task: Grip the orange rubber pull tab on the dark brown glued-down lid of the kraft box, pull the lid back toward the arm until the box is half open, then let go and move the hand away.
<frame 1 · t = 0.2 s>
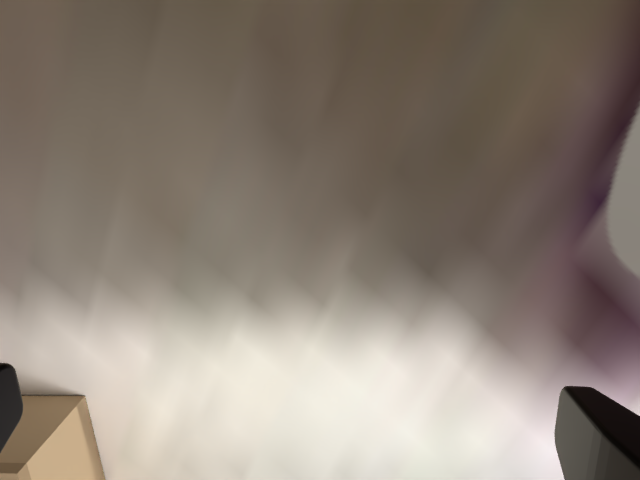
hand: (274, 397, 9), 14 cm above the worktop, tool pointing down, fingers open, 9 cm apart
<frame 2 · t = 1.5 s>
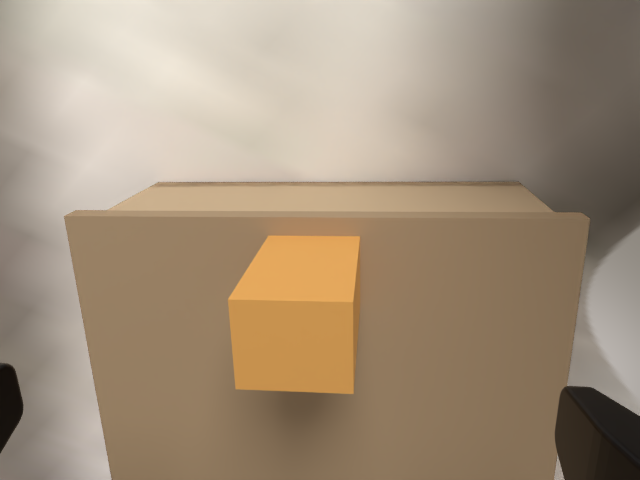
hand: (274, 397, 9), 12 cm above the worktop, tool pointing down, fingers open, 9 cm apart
carton: (335, 375, 22), on the worktop
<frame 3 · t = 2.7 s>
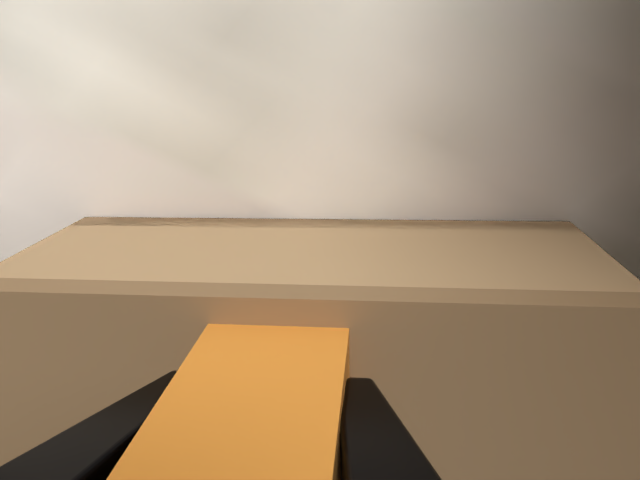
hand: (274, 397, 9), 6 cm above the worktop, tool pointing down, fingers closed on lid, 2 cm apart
carton: (321, 463, 17), on the worktop
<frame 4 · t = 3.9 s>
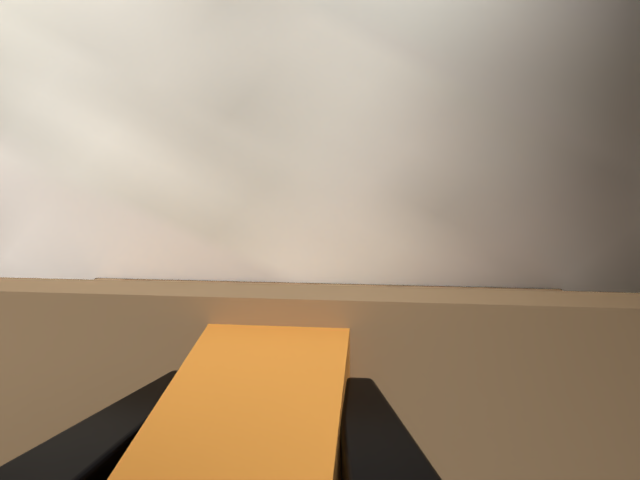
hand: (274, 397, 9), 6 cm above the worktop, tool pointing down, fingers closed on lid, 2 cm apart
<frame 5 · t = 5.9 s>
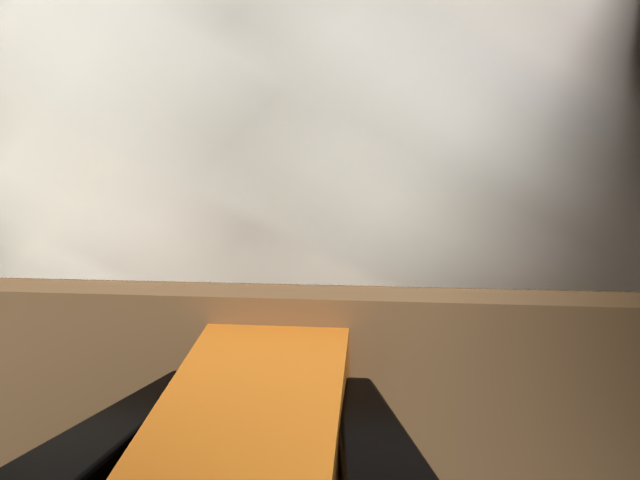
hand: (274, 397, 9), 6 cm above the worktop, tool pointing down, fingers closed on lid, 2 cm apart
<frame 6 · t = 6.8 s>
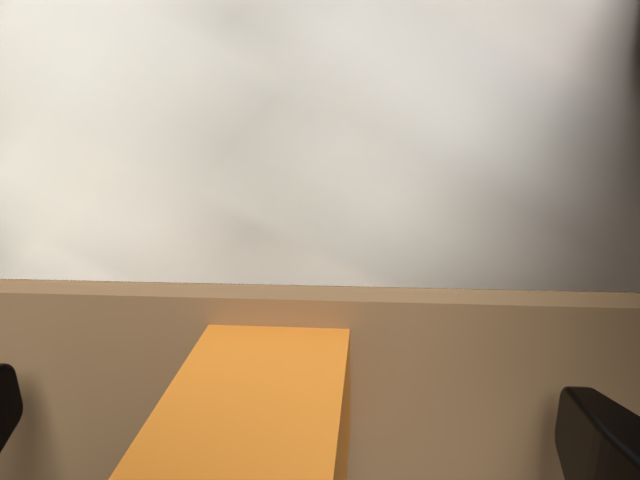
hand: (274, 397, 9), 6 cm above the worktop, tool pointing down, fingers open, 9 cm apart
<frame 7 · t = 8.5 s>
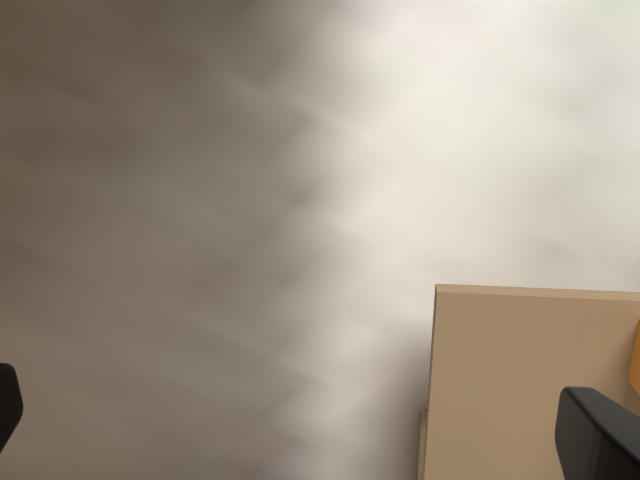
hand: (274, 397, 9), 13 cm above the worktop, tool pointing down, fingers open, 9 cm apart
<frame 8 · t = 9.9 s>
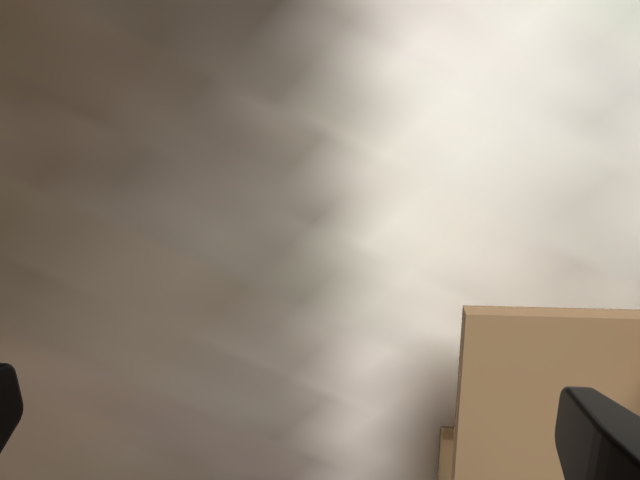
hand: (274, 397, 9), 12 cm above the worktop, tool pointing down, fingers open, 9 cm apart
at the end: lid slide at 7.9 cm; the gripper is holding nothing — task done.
